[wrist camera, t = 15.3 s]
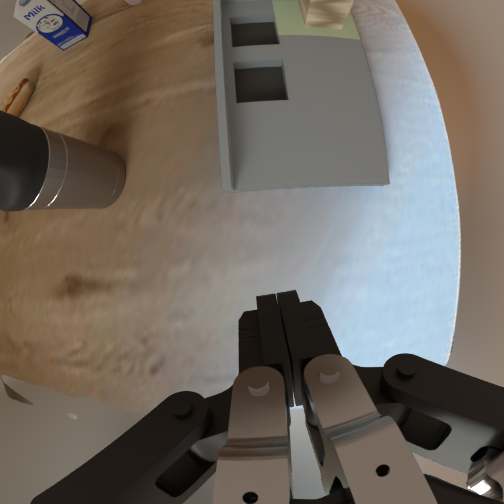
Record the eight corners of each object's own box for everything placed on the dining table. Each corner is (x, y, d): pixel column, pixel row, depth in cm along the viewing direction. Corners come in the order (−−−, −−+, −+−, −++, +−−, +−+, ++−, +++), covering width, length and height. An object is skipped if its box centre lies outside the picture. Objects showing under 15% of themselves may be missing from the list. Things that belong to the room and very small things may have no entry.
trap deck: (229, 192, 36) (222, 188, 30) (218, 9, 31) (212, -14, 25) (382, 185, 35) (403, 181, 29) (342, 9, 30) (351, -12, 24)
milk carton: (92, 16, 31) (46, -29, 11) (88, 36, 32) (35, -10, 12) (67, 31, 32) (18, -7, 12) (62, 51, 33) (7, 14, 13)
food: (33, 79, 34) (20, 73, 29) (40, 88, 34) (26, 81, 29) (2, 131, 35) (-12, 128, 30) (8, 142, 36) (-7, 139, 31)
